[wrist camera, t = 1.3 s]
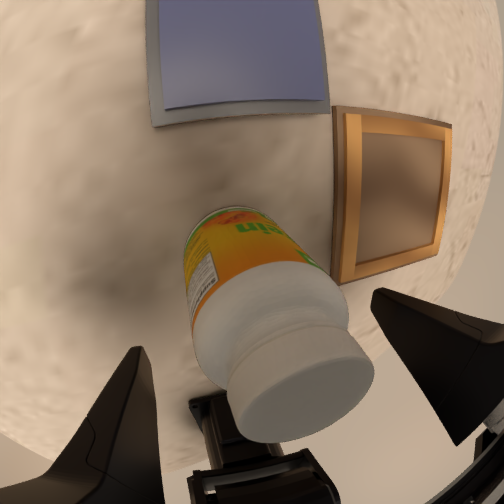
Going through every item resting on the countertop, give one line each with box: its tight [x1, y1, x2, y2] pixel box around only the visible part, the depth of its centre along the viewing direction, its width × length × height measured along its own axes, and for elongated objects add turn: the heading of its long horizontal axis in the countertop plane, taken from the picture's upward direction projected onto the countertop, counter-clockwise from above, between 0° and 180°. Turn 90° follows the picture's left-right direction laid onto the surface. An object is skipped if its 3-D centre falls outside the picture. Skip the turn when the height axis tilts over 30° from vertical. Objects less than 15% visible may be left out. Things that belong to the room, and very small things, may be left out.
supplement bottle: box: [184, 207, 374, 443], centre depth 10 cm, size 5×5×10 cm
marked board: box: [330, 106, 452, 286], centre depth 16 cm, size 11×11×1 cm
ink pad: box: [146, 0, 330, 128], centre depth 9 cm, size 8×8×2 cm
